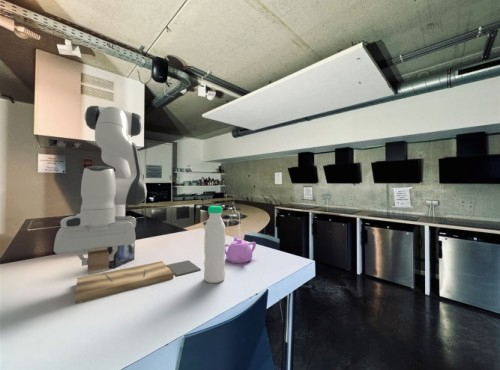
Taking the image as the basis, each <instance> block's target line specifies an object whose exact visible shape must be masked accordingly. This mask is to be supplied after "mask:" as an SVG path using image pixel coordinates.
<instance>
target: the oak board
mask: <svg viewBox="0 0 500 370" xmlns="http://www.w3.org/2000/svg"><path fill="white" fill-rule="evenodd" d="M174 276H175V274H174V273H173V272H172V271H171V270H170V269H169V268H168V267H167V264H166V263H164V262H163V260H161V261H157V262H152V263H146V264H141V265H136V266H131V267H126V268H120V269H116V270H111V271H110V270H109V271H104V272H99V273H94V274H89V275H87V276H86V275H85V276H81V277H77V279H76V286H75V287H76V288H75V303H74V304H78V303H83V302H86V301H90V300H95V299H98V298H103V297H105V296H110V295H113V294H118V293H122V292H126V291H130V290H134V289H138V288H141V287H146V286H149V285H153V284H157V283H160V282H161V283H162V282H165V281H169V280H173V279H174Z"/></svg>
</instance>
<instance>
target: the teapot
mask: <svg viewBox="0 0 500 370" xmlns="http://www.w3.org/2000/svg"><path fill="white" fill-rule="evenodd" d="M233 238H234V239H233V241H232V242H231V243H230V244H229V243H228V244H227V243H225V258H226V259H227V260H228V262H229V263H232V264H246V263H249V262H250V261H251V260H252V259H253V252H254V251H255V249H256V246H257V243H256V242H255V241H252V242H247V241H245V240H243V239H241V238H238V236H237V235H234V236H233ZM250 245H252V247H250ZM226 247H228V248H227V250H226ZM248 261H249V262H248Z"/></svg>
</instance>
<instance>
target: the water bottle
mask: <svg viewBox="0 0 500 370" xmlns="http://www.w3.org/2000/svg"><path fill="white" fill-rule="evenodd" d="M207 213H208V215H209V217H208V219H207V221H206V223H205V226H204V243H203V244H204V247H203V248H204V262H203V267H204V271H203V279H204V281H205V282H206V283H208V284H209V283H210V284H217V283H221V282H223V281H224V280H225V278H226V269H225V266H226V259H225V258H226V254H225V249H226V247H225V244H226V232H225V231H226V225H225V222H224V221H223V218H222V214H223V207H222V206H221V205H210V206H208V208H207Z"/></svg>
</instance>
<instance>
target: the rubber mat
mask: <svg viewBox="0 0 500 370" xmlns="http://www.w3.org/2000/svg"><path fill="white" fill-rule="evenodd" d="M166 266H167V267H168V268H169V269H170V270H171V271H172V272H173V273H174V276H176V277H179V276H185V275H187V274H191V273H196V272H200V271H201V270H202V269H201V268H200V267H199V266H197V265H196V264H195V263H193V262H192V261H190V260H183V261H179V262H173V263H169V264H166Z"/></svg>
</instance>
